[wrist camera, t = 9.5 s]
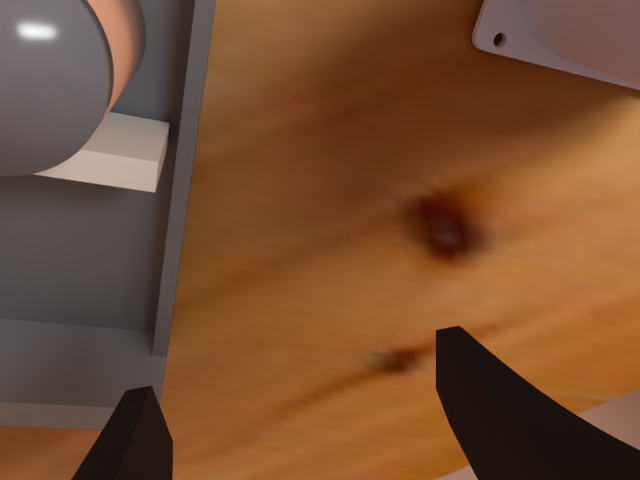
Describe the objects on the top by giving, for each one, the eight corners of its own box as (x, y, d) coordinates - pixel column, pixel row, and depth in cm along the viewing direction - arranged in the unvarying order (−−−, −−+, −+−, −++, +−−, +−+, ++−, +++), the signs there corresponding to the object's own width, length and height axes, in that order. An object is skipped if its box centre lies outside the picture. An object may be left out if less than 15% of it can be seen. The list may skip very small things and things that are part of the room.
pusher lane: (249, -243, 15) (258, -316, 11) (167, 347, 25) (156, 432, 21) (-125, -379, 13) (-299, -540, 9) (-53, 330, 23) (-118, 421, 18)
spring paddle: (170, 123, 19) (158, 162, 16) (167, 148, 20) (155, 192, 16) (-55, 81, 17) (-124, 116, 14) (-53, 111, 18) (-119, 151, 14)
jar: (153, -38, 17) (112, -29, 11) (139, 113, 19) (99, 191, 13) (-22, -83, 16) (-176, -100, 10) (-14, 84, 18) (-136, 155, 12)
